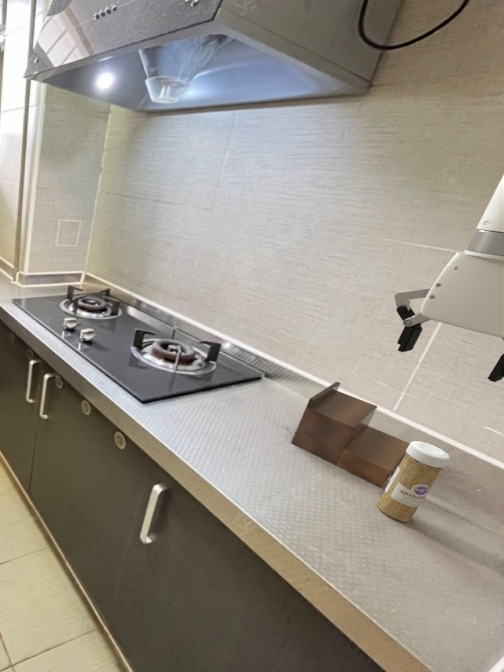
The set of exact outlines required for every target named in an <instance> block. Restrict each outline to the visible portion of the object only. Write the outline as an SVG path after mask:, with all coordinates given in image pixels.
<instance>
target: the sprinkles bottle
mask: <svg viewBox="0 0 504 672" xmlns="http://www.w3.org/2000/svg"><path fill="white" fill-rule="evenodd" d="M409 443H410V445H409V446H408V448H407V450H406V454H405V455H404V457H403V458H402V459H401V460H400V462H399V465H397V466H396V469H395V470H394V472H393V475H391V478H390V480H389V482H388V483H387V484H386V487H385V489H384V492H383V493H382V495H381V496H380V499H379V500H378V501H377V502H376V506H377V507H378V509H379V510H380V511H381V512H382V513H384V514H385V515H386V516H387V517H390V518H391V519H393V520H397V521H400V522H402V523H409V522H411V521H412V520H413V517H414V515H415V513H416V512H417V510H418V509H419V507H420V506H421V505H422V504H423V502H424V500H425V499H426V497H427V495H428V494H429V491H430V489H432V486H433V485H434V482H435V481H436V480H437V478H438V476H439V474H440V473H441V471H442V470H443V469H444V468H446V466H447V465H448V464H449V462H450V460H451V456H450V455H449V453H448V452H446V451H445V450H443V449H441V448H440V447H437V446H436V445H433V444H431V443H427V442H424V441H419V440H414V441H411V442H409Z"/></svg>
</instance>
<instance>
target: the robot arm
mask: <svg viewBox="0 0 504 672" xmlns="http://www.w3.org/2000/svg"><path fill="white" fill-rule="evenodd" d="M416 299H423V301H422V304H421V306H420V309H419V313H417V314H416V313H415V312H414V309H413V308H412V307H411V301H412V300H416ZM394 301H395V306H396V313H397V314H398V316H399V318H400V319H401V321H402V324H403V326H404V327H403V330H402V331H401V333H400V335H399V337H398V340H397V341H396V344H397V345H399V346H398V348H397V351H398V352H400V353H406V352H410V351H412V350H413V349H414V348H415V345H416V343H417V341H418V340H419V337H420V336H421V334H422V332H423V330H424V328H423V326H422V324H424V323H426V322H429V321H434V322H438V323H441V324H446V325H449V326H452V327H457V328H461V329H464V330H468V331H472V332H476V333H478V334H479V333H480V334H483V335H487V336H492V337H497V338H501V339H502V342H504V174H503V175H502V177H501V179H500V181H499V183H498V185H497V187H496V189H495V191H494V192H493V194H492V196H491V199H490V200H489V202H488V204H487V206H486V208H485V210H484V212H483V214H482V216H481V218H480V220H479V222H478V224H477V226H476V228H475V230H474V231H473V234H472V236H471V237H470V239H469V241H468V244H467V246H466V247H465V249H464V251H457V252H456V253H455V254H454V255H453V257H452V258H451V259H450V261H448V262H447V264H446V266H445V267H444V268H443V270H442V271H441V272H440V274H439V275H438V276H437V278H436V280H435V281H434V283H433V284H432V285H431V287H430V288H426V289H418V290H410V291H403V292H397V293H395V294H394ZM502 379H504V353H501V356H499V359H498V360H497V362H496V363H495V365H494V367H493V368H492V370H491V372H490V373H489V375H488V377H487V380H488V381H490V382H493V383H496V382H498V381H502Z"/></svg>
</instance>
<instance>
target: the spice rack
mask: <svg viewBox="0 0 504 672" xmlns="http://www.w3.org/2000/svg"><path fill="white" fill-rule="evenodd" d="M340 386H341V382H339V381H335V382H334V383H332V384H330V385H329V386H327V387H326V388H324V389H323V390H321V391H319V392H318V393H316V394H315V395H314V396H312V397H310V398H309V399H308V402H307V404H306V407H305V409H304V411H303V414H302V416H301V418H300V421H299V423H298V425H297V427H296V429H295V432H294V434H293V437H292V438H291V439H292V440H291V442H290V443H291V444H293V445H295V446H297V447H299V448H301V449H302V450H305V451H306V452H309V453H311V454H313V455H315V456H317V457H319V458H321V459H323V460H324V461H327V462H329V463H331V464H333V465H335V466H336V467H339V468H340V469H342V470H345V471H346V472H349V473H351V474H352V475H354V476H356V477H359V478H360V479H362V480H365V481H366V482H368V483H371V484H372V485H375V486H377V487H378V488H380V489H381V488H382V487H383V485H385V483H386V482H387V481H388V479H389V478H390V477H391V474H392V472H393V471H395V468H397V467H398V464H400V463H401V461H402V460H403V459H404V456H405V455H406V450H407V448H408V446H409V445H410V443H411V442H408V441H406V440H403V439H400V438H398V437H396V436H394V435H391V434H389V433H387V432H384V431H381V430H379V429H376V428H374V427H372V426H370V423H371V420H372V419H373V417H374V415H375V412H376V411H377V409H378V405H375V404H372V403H370V402H368V401H365V400H362V399H360V398H357V397H354V396H352V395H349V394H347V393H344V392H341V391H339V388H340Z"/></svg>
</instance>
